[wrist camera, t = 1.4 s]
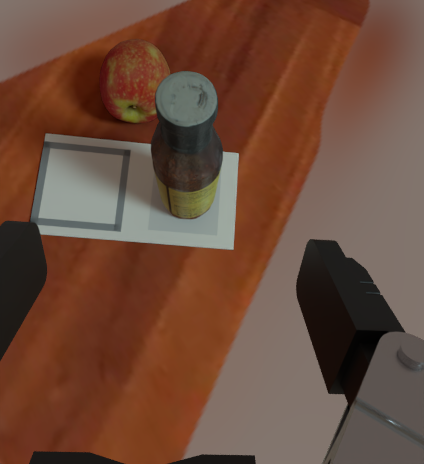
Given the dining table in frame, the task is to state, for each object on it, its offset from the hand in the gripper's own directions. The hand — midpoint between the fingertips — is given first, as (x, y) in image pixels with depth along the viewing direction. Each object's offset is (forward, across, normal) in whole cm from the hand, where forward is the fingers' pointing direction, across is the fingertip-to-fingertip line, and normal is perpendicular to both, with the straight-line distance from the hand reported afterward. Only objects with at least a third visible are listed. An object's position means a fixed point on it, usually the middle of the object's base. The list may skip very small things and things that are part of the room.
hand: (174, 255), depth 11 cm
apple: (+37, +7, +4) cm, 38 cm away
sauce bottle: (+29, 0, +12) cm, 31 cm away
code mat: (+29, +6, +12) cm, 32 cm away
